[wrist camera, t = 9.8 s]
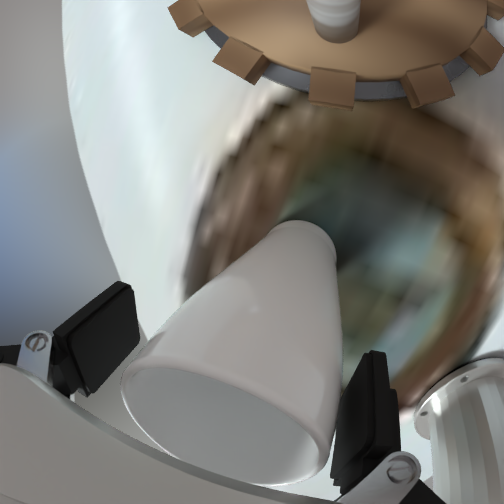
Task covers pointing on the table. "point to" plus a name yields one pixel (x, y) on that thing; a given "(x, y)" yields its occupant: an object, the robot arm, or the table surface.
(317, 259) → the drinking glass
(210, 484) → the robot arm
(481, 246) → the table surface
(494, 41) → the sprocket
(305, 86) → the sprocket stand
